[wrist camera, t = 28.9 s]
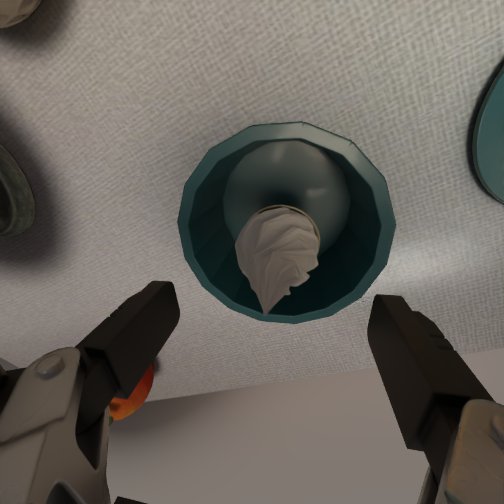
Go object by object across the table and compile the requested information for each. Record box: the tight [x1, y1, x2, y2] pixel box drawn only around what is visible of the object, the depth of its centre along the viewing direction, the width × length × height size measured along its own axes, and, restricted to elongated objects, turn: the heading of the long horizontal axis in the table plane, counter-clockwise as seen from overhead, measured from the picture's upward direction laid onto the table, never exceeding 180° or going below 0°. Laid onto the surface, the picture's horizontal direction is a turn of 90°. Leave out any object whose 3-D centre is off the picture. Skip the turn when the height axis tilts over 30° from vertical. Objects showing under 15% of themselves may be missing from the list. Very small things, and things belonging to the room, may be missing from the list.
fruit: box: [108, 364, 154, 426], centre depth 33 cm, size 10×10×10 cm
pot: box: [177, 121, 396, 324], centre depth 18 cm, size 14×14×8 cm
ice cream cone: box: [235, 205, 320, 316], centre depth 15 cm, size 5×5×15 cm
